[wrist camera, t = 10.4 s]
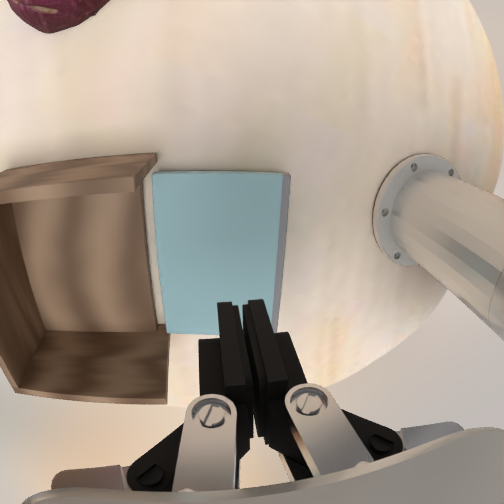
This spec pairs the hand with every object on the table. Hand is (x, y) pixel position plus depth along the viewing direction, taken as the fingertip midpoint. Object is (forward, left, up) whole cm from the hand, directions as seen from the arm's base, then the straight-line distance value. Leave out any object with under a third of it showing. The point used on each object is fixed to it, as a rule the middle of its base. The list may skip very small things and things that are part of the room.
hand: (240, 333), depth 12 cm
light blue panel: (+5, +5, -16) cm, 18 cm away
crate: (+12, +5, -18) cm, 22 cm away
